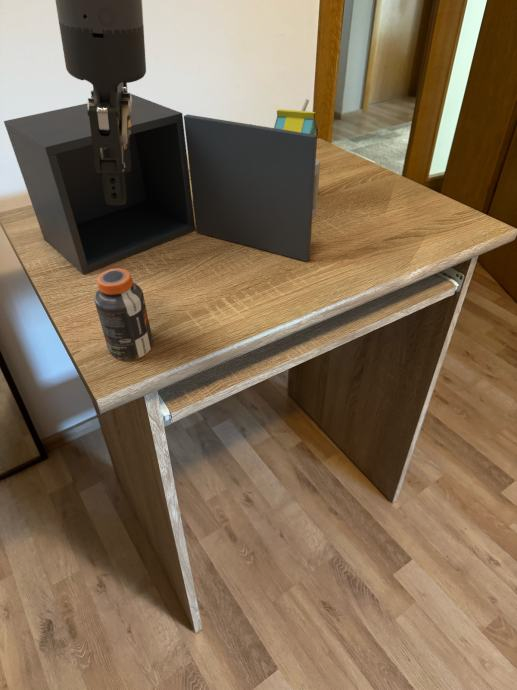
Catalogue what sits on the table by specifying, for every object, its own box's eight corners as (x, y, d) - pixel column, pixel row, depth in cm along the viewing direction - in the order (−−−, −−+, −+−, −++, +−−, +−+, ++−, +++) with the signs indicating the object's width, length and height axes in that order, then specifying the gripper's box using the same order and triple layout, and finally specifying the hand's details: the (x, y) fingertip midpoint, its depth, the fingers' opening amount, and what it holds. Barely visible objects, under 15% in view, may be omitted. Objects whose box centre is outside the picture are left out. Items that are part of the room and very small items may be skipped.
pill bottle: (161, 350, 65) (146, 279, 57) (119, 368, 62) (98, 296, 55) (142, 327, 69) (127, 257, 61) (102, 343, 66) (81, 272, 59)
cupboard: (195, 230, 90) (182, 112, 77) (83, 274, 79) (45, 147, 66) (150, 202, 99) (131, 93, 86) (43, 239, 88) (3, 121, 75)
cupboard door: (214, 218, 93) (205, 105, 80) (322, 245, 85) (332, 124, 72) (196, 232, 89) (183, 115, 76) (307, 261, 81) (314, 136, 68)
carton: (316, 193, 101) (322, 99, 90) (306, 209, 96) (311, 111, 84) (281, 189, 103) (283, 96, 91) (270, 204, 98) (270, 108, 86)
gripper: (69, 1, 49) (92, 160, 60) (43, 29, 39) (76, 216, 50) (145, 7, 50) (154, 162, 61) (139, 36, 40) (151, 217, 51)
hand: (119, 186), depth 55 cm, fingers open, 8 cm apart
